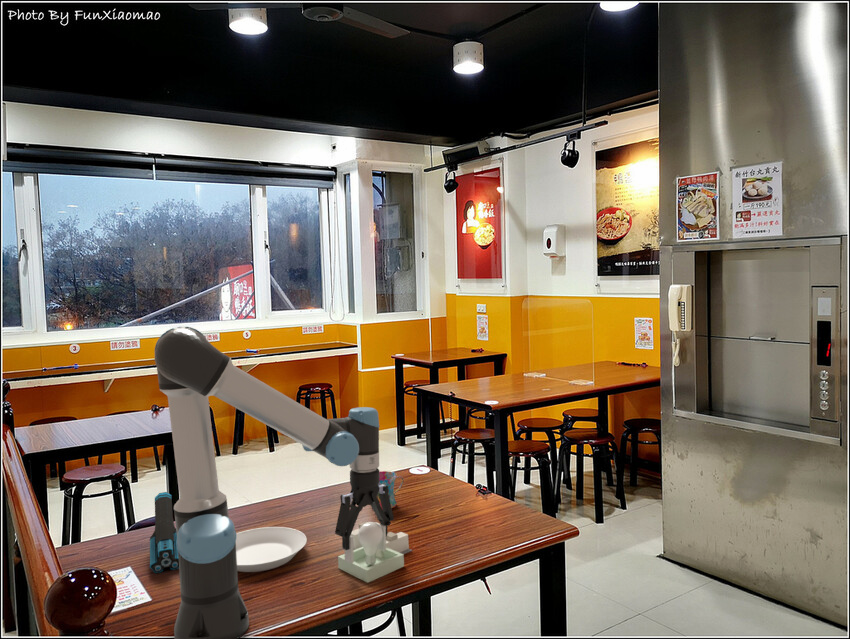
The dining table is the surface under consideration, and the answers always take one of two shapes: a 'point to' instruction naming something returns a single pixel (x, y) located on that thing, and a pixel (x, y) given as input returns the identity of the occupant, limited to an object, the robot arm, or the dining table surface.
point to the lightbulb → (370, 540)
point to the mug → (389, 485)
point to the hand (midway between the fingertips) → (365, 555)
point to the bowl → (267, 547)
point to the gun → (163, 536)
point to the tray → (374, 571)
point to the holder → (392, 542)
